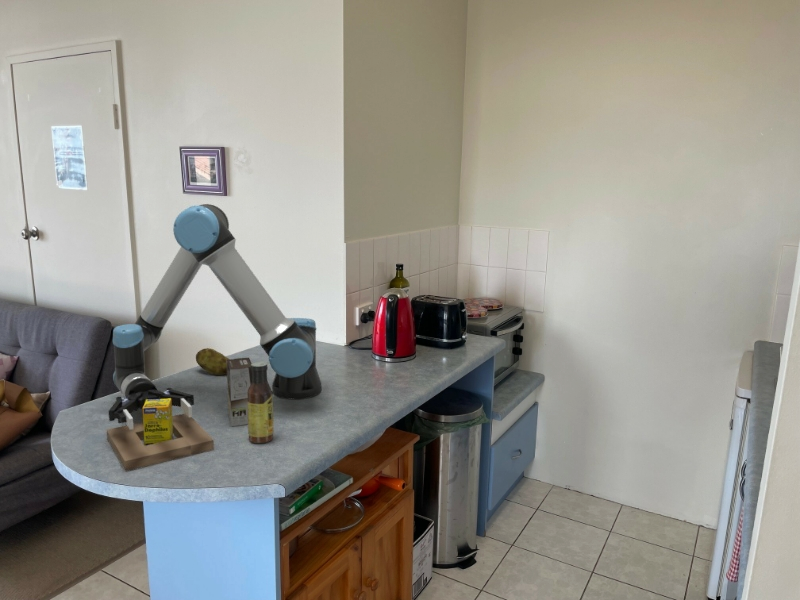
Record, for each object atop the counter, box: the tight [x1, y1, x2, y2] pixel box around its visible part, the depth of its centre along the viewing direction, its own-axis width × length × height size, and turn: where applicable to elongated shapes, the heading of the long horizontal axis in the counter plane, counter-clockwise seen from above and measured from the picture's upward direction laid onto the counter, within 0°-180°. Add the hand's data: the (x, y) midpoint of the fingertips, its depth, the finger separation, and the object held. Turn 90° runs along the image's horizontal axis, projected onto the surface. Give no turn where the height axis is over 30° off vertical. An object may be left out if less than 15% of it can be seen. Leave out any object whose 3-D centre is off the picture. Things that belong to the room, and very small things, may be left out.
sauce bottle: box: [247, 361, 274, 444], centre depth 150 cm, size 7×6×20 cm
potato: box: [195, 347, 230, 376], centre depth 199 cm, size 8×13×8 cm, turn 58°
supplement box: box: [142, 398, 174, 446], centre depth 146 cm, size 6×6×11 cm
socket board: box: [106, 412, 215, 472], centre depth 147 cm, size 20×20×2 cm
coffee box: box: [226, 357, 253, 427], centre depth 162 cm, size 9×6×16 cm
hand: (161, 417), depth 143 cm, fingers open, 13 cm apart
